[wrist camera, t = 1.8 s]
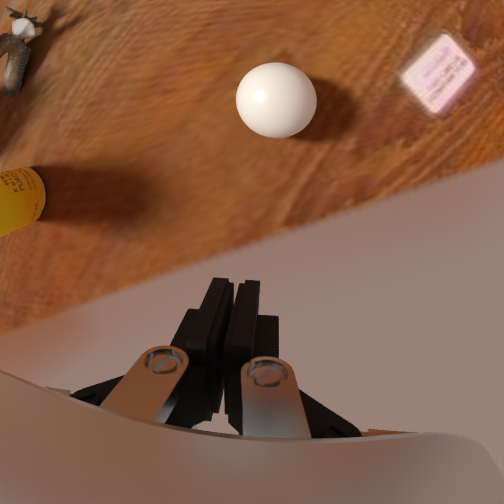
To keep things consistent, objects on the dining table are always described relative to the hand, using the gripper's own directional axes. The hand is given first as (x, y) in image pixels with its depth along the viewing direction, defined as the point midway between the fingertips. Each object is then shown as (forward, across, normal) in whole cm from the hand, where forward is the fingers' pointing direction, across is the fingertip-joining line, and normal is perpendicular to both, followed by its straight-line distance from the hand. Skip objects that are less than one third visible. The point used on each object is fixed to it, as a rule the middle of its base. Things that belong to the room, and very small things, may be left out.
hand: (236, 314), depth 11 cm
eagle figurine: (+14, +27, -19) cm, 36 cm away
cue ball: (+11, -1, -10) cm, 15 cm away
